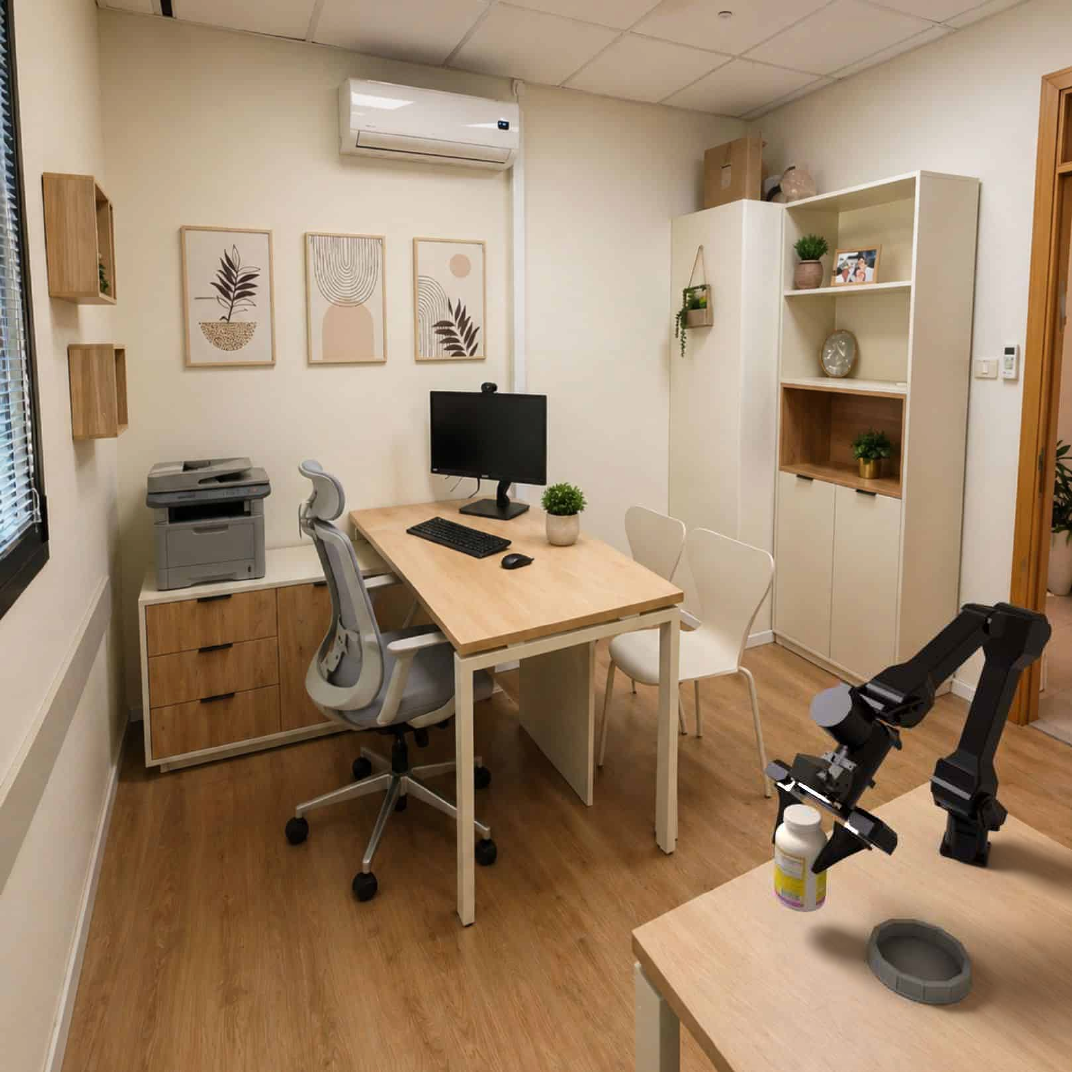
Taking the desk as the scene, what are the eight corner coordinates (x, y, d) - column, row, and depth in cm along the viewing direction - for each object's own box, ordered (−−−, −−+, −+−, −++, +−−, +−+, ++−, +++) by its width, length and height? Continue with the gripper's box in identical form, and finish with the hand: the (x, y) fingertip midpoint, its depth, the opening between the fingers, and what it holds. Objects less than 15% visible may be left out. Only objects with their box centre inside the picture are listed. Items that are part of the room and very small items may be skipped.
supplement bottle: (814, 879, 114) (818, 798, 111) (833, 913, 108) (838, 827, 104) (767, 882, 114) (769, 801, 111) (782, 916, 108) (786, 831, 104)
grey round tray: (878, 921, 113) (879, 906, 112) (976, 955, 106) (978, 938, 106) (857, 979, 103) (858, 963, 103) (964, 1020, 97) (966, 1002, 96)
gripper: (775, 705, 115) (713, 800, 113) (888, 764, 99) (818, 875, 97) (813, 741, 120) (755, 831, 118) (926, 801, 104) (861, 907, 102)
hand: (793, 858), depth 109 cm, fingers closed on supplement bottle, 7 cm apart
